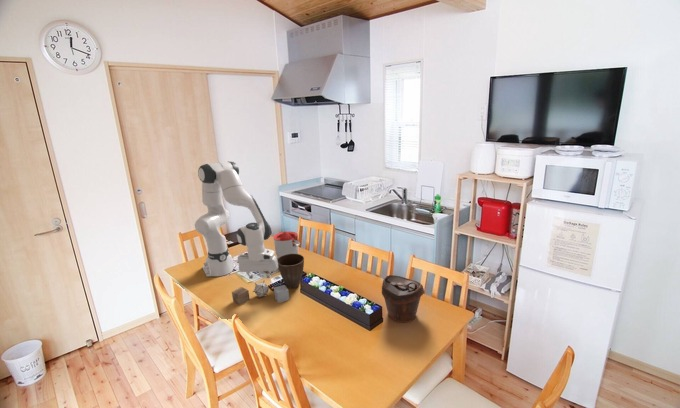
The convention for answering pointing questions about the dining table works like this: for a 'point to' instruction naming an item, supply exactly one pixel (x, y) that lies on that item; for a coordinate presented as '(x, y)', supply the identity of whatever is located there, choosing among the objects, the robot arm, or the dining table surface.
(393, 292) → the dark brown lidded bucket
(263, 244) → the robot arm
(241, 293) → the walnut block
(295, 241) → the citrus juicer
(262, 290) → the grey spiky ball
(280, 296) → the grey block
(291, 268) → the plant pot
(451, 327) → the dining table surface
